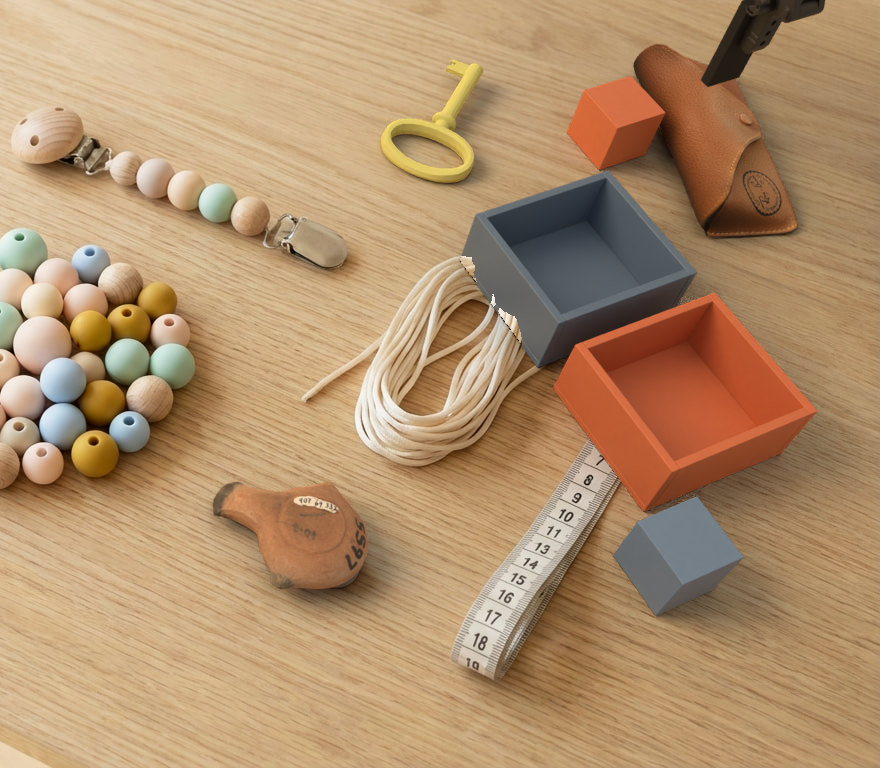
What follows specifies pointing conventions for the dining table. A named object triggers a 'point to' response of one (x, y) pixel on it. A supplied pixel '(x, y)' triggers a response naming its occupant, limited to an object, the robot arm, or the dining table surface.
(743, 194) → the sunglasses case
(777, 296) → the dining table surface
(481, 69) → the key
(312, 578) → the oil lamp
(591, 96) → the terracotta block
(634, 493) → the terracotta bin
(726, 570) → the slate block
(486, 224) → the slate bin
